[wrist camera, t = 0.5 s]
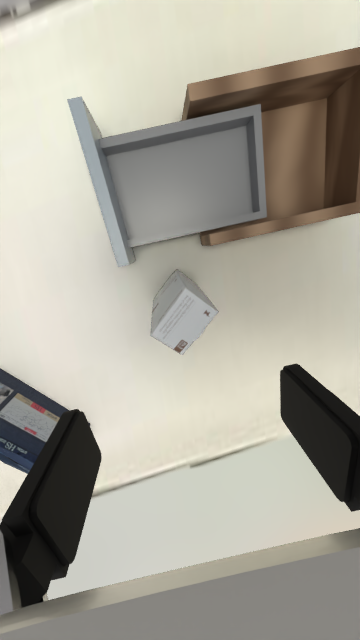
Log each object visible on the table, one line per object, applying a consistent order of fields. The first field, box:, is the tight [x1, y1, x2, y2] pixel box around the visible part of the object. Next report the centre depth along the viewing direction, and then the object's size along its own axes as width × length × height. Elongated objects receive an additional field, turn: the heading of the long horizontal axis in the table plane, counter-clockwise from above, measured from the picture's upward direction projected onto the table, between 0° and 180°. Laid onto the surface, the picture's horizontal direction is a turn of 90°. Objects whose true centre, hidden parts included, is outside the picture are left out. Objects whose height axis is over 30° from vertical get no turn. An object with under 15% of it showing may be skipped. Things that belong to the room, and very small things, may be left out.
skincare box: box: [151, 270, 218, 355], centre depth 26 cm, size 6×4×12 cm
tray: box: [67, 97, 267, 267], centre depth 23 cm, size 18×14×6 cm
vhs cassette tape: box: [0, 369, 90, 474], centre depth 31 cm, size 18×3×10 cm, turn 43°
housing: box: [182, 47, 360, 246], centre depth 24 cm, size 18×14×6 cm
